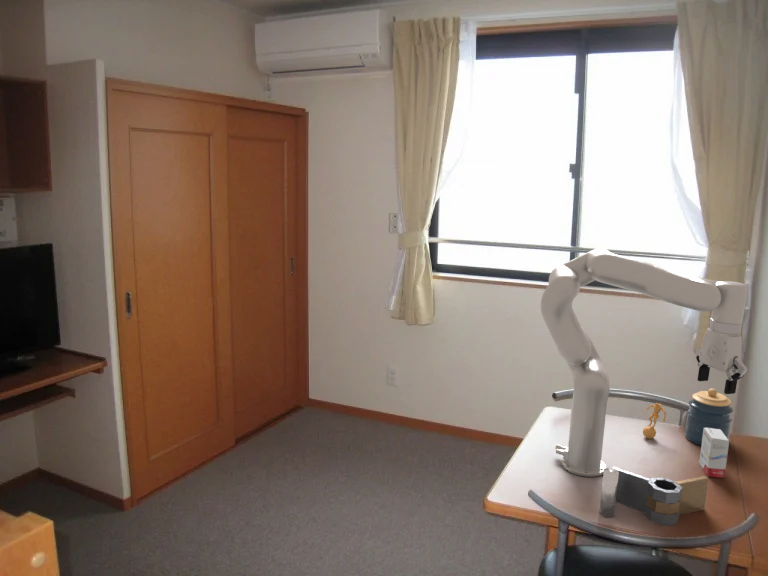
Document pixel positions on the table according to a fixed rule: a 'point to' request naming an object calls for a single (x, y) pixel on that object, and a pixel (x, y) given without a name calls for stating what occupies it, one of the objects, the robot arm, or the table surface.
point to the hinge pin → (609, 492)
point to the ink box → (714, 452)
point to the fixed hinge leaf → (637, 489)
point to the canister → (708, 414)
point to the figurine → (650, 431)
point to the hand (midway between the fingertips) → (715, 386)
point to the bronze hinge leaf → (684, 498)
